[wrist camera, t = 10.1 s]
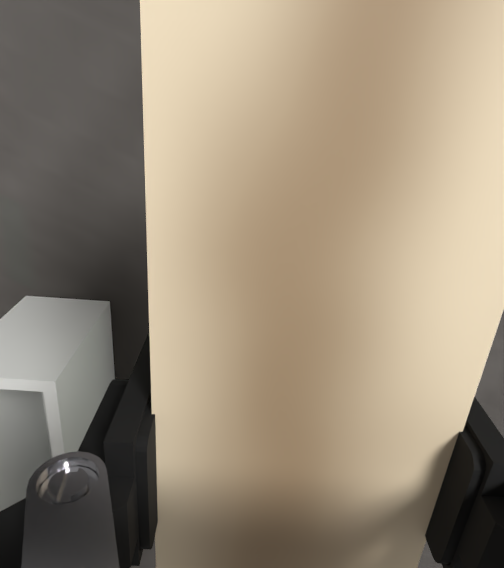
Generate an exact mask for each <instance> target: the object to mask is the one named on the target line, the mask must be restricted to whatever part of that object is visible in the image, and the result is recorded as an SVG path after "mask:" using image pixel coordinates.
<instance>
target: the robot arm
mask: <svg viewBox="0 0 504 568" xmlns="http://www.w3.org/2000/svg"><path fill="white" fill-rule="evenodd" d="M157 523H158V509H157V467H156V426H155V414H152V407H151V372H150V336H149V334H148V336H147V338H146V341H145V343H144V345H143V348H142V350H141V353H140V355H139V357H138V360H137V362H136V365H135V367H134V369H133V372H132V374H131V377H130V379H129V380H121V379H113V380H112V381H111V383H110V384H109V386H108V388H107V390H106V392H105V395H104V397H103V399H102V401H101V403H100V405H99V407H98V409H97V411H96V413H95V416H94V418H93V420H92V422H91V424H90V426H89V428H88V430H87V432H86V435H85V437H84V439H83V441H82V443H81V445H80V447H79V449H78V451H77V452H68V453H64V454H61V455H58V456H55V457H53V458H51V459H50V460H48V461H46V462H44V463H43V464H42V465H41V466H40V467H39V468H37V469H36V470H35V472H34V473H33V475H32V476H31V478H30V479H29V482H28V486H27V490H26V498H24V499H22V500H21V501H19V502H17V503H15V504H13V505H11V506H9V507H8V508H6V509H4V510H2V511H0V568H129V567H131V565H135V566H139V564H140V560H141V556H142V552H143V549H151V548H152V546H153V542H154V537H155V532H156V528H157ZM425 537H426V540H427V542H428V545H429V548H430V550H431V553H432V556H433V558H434V560H435V561H436V562H437V563H442V565H443V568H504V438H503V437H502V435H501V434H500V432H499V431H498V430H497V428H496V427H495V425H494V424H493V422H492V421H491V420H490V418H489V417H488V415H487V414H486V412H485V411H484V410H483V408H482V407H481V405H480V404H479V402H478V401H477V400H476V398H475V397H474V399H473V402H472V405H471V408H470V411H469V414H468V417H467V420H466V423H465V426H464V429H463V432H459V434H458V437H457V440H456V443H455V446H454V449H453V452H452V455H451V458H450V461H449V464H448V467H447V470H446V473H445V476H444V479H443V482H442V485H441V488H440V491H439V494H438V497H437V500H436V503H435V506H434V510H433V513H432V516H431V519H430V522H429V525H428V528H427V531H426V534H425Z"/></svg>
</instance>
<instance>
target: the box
mask: <svg viewBox="0 0 504 568" xmlns="http://www.w3.org/2000/svg"><path fill="white" fill-rule="evenodd" d="M113 379H115V371H114V356H113V341H112V325H111V310H110V301H97V300H82V299H67V298H52V297H37V296H25V297H24V298H23V299H22V300H21V301H20V302H19V303H18V304H16V305H15V306H14V307H13V308H12V309H11V310H10V311H9V312H8V313H7V314H6V315H4V316H3V317H2V318H1V319H0V511H2V510H4V509H6V508H8V507H9V506H11V505H13V504H15V503H17V502H19V501H21V500H22V499H24V498H26V490H27V486H28V482H29V479H30V478H31V476H32V475H33V473H34V472H35V470H36V469H37V468H39V467H40V466H41V465H42V464H43V463H44V462H46V461H48V460H50V459H51V458H53V457H55V456H58V455H61V454H64V453H68V452H77V451H78V449H79V447H80V445H81V443H82V441H83V439H84V437H85V435H86V432H87V430H88V428H89V426H90V424H91V422H92V420H93V418H94V416H95V413H96V411H97V409H98V407H99V405H100V403H101V401H102V399H103V397H104V395H105V392H106V390H107V388H108V386H109V384H110V383H111V381H112V380H113Z"/></svg>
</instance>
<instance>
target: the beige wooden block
mask: <svg viewBox="0 0 504 568" xmlns="http://www.w3.org/2000/svg"><path fill="white" fill-rule="evenodd" d="M140 16H141V51H142V87H143V123H144V158H145V194H146V229H147V265H148V301H149V336H150V372H151V407H152V414H155V426H156V467H157V509H158V523H157V528H156V532H155V550H156V568H417V567H418V564H419V561H420V558H421V555H422V552H423V549H424V546H425V543H426V537H425V534H426V531H427V528H428V525H429V522H430V519H431V516H432V513H433V510H434V506H435V503H436V500H437V497H438V494H439V491H440V488H441V485H442V482H443V479H444V476H445V473H446V470H447V467H448V464H449V461H450V458H451V455H452V452H453V449H454V446H455V443H456V440H457V437H458V434H459V432H463V429H464V426H465V423H466V420H467V417H468V414H469V411H470V408H471V405H472V402H473V399H474V396H475V393H476V390H477V387H478V384H479V381H480V378H481V375H482V372H483V369H484V366H485V363H486V360H487V357H488V355H489V352H490V349H491V346H492V343H493V340H494V337H495V334H496V331H497V328H498V325H499V322H500V319H501V316H502V313H503V310H504V0H140Z"/></svg>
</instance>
